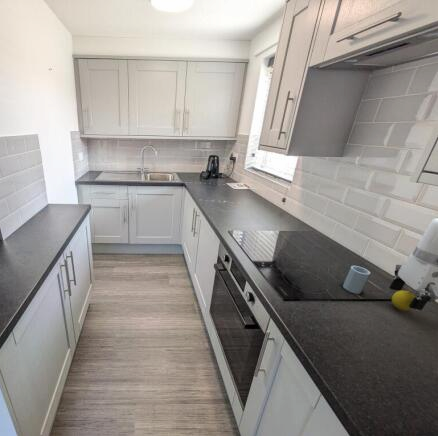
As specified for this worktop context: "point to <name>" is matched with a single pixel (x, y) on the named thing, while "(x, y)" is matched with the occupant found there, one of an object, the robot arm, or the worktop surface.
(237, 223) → the worktop surface
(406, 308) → the lemon
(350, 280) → the cup
